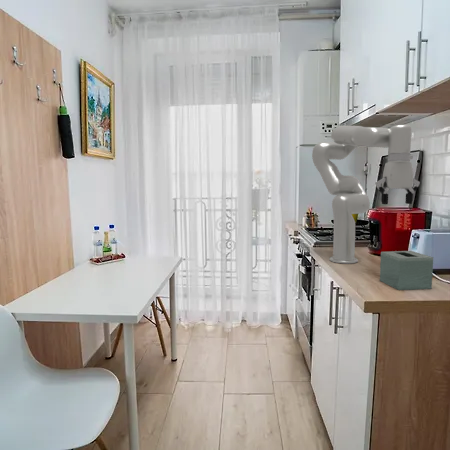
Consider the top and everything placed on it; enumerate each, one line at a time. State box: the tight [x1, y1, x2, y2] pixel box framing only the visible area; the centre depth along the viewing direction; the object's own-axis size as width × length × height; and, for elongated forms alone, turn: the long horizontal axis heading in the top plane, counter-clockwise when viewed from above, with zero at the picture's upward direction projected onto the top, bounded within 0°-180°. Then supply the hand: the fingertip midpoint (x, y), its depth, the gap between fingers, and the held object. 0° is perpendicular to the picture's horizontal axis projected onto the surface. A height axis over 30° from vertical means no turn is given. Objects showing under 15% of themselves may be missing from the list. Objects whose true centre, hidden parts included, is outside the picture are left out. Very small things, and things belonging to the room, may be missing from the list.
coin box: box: [379, 250, 434, 291], centre depth 125 cm, size 12×12×11 cm
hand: (396, 203), depth 134 cm, fingers open, 9 cm apart
